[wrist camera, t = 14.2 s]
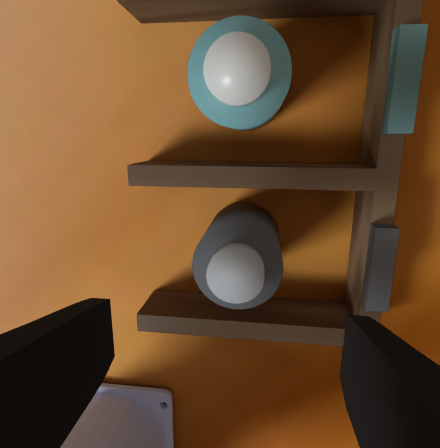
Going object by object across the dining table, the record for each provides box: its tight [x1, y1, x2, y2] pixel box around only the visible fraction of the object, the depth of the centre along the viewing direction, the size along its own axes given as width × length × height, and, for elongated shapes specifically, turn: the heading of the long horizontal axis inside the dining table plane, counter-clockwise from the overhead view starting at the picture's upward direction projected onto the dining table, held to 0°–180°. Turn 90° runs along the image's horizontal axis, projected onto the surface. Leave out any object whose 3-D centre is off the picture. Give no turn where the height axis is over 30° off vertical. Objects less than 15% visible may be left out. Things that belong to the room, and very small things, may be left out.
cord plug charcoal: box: [192, 202, 283, 309], centre depth 17 cm, size 4×4×6 cm
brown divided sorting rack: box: [117, 0, 428, 347], centre depth 17 cm, size 17×12×4 cm
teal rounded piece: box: [187, 15, 292, 131], centre depth 15 cm, size 4×4×6 cm
